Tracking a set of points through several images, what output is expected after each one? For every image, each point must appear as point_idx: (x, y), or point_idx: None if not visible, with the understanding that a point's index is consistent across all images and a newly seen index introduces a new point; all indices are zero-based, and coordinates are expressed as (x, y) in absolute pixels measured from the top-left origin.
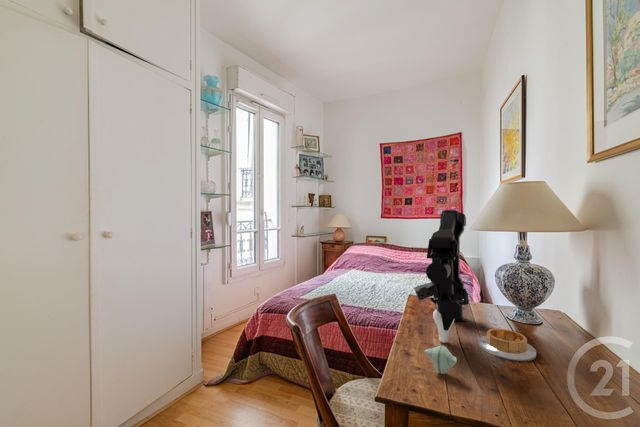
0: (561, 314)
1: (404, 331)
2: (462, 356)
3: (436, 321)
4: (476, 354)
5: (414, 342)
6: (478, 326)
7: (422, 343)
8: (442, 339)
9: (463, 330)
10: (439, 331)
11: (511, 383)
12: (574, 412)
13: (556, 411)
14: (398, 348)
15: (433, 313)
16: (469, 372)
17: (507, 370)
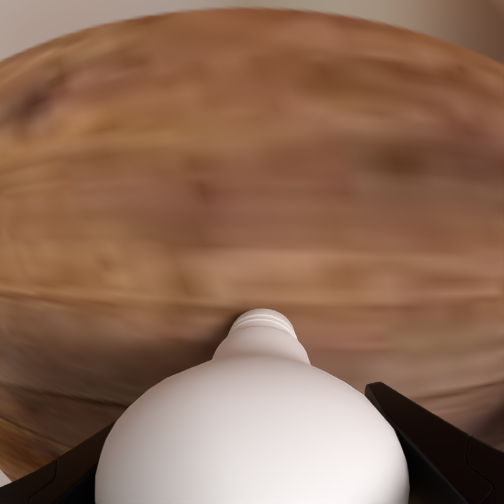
0: None
1: (378, 35)
2: (115, 394)
3: (149, 389)
4: None
5: (188, 110)
6: None
7: (190, 170)
8: (228, 334)
9: (461, 416)
10: (226, 345)
11: (38, 456)
12: None
13: (7, 467)
14: (75, 41)
15: (228, 435)
16: (13, 377)
17: None
